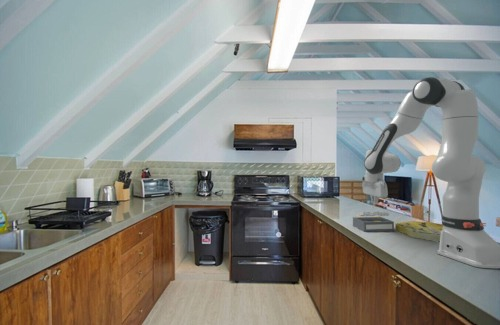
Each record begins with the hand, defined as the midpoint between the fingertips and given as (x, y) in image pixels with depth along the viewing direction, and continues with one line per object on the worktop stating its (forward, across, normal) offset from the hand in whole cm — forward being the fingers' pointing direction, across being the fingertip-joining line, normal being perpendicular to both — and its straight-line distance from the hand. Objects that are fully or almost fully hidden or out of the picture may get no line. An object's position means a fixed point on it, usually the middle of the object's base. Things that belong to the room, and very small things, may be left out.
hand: (374, 203), depth 142 cm
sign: (+14, -10, -22) cm, 29 cm away
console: (+14, +3, 0) cm, 14 cm away
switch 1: (+6, +3, +5) cm, 8 cm away
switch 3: (+6, +3, -5) cm, 8 cm away
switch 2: (+6, +3, 0) cm, 7 cm away
